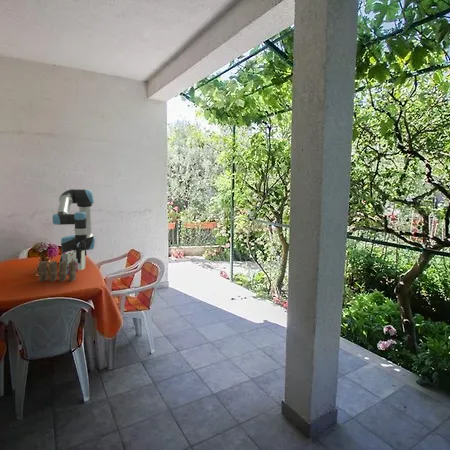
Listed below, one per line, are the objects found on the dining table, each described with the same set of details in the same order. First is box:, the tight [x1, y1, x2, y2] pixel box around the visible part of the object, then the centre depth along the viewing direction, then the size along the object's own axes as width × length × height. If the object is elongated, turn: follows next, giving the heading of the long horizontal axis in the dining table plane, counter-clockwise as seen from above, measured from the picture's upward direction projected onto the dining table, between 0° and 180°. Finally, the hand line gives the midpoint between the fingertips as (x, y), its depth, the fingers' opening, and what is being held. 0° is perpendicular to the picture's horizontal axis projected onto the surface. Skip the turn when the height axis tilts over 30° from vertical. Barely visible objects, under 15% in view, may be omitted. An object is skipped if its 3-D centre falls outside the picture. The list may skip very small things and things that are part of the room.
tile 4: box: [68, 261, 77, 282], centre depth 222 cm, size 2×7×13 cm, turn 7°
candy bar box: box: [61, 250, 79, 276], centre depth 240 cm, size 11×5×16 cm, turn 168°
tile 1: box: [38, 260, 49, 283], centre depth 220 cm, size 2×7×13 cm, turn 6°
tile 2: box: [48, 260, 58, 283], centre depth 221 cm, size 2×7×13 cm, turn 6°
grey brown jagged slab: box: [58, 261, 68, 282], centre depth 222 cm, size 2×7×13 cm, turn 7°
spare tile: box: [77, 250, 86, 271], centre depth 222 cm, size 2×7×13 cm, turn 6°
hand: (81, 266), depth 223 cm, fingers closed on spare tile, 7 cm apart
